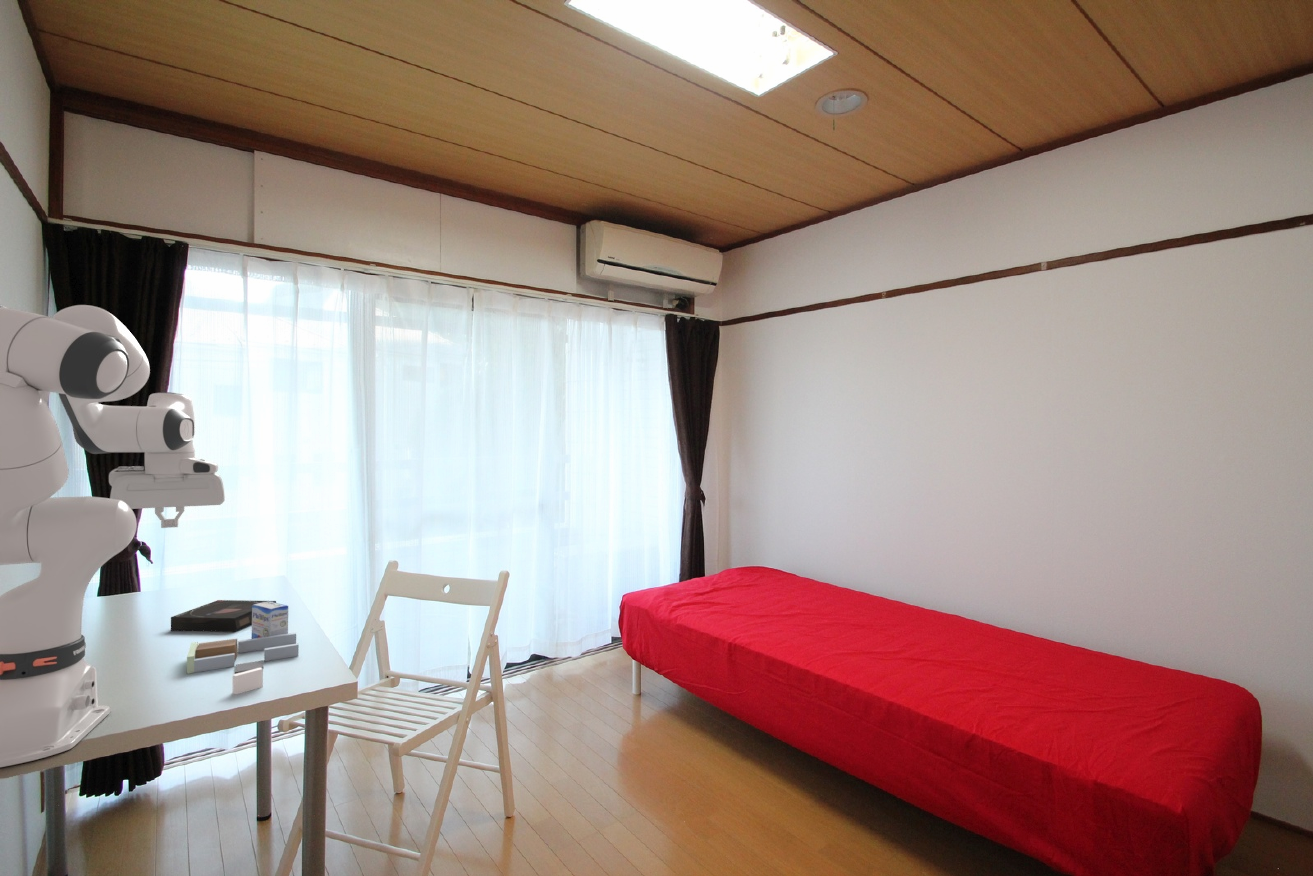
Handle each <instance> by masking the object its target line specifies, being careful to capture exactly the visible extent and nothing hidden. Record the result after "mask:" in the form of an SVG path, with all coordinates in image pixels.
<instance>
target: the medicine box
mask: <svg viewBox="0 0 1313 876" xmlns="http://www.w3.org/2000/svg"><path fill="white" fill-rule="evenodd" d="M282 634H289V605H287V604H281V603H279V602H276V603H274V602H262V603H258V604H254V605H252V625H251V637H250V639H254V638H261V637H268V636H275V635H282Z"/></svg>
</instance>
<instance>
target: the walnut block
mask: <svg viewBox="0 0 1313 876" xmlns="http://www.w3.org/2000/svg"><path fill="white" fill-rule="evenodd" d="M231 653H235V662H236V660H237V658H238V638H231V639H223V640H215V641H207V642H206V641H205V642H200V643H198V647H197V649H196V659H198V658H205V657H211V656H218V655H225V654H231Z"/></svg>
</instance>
